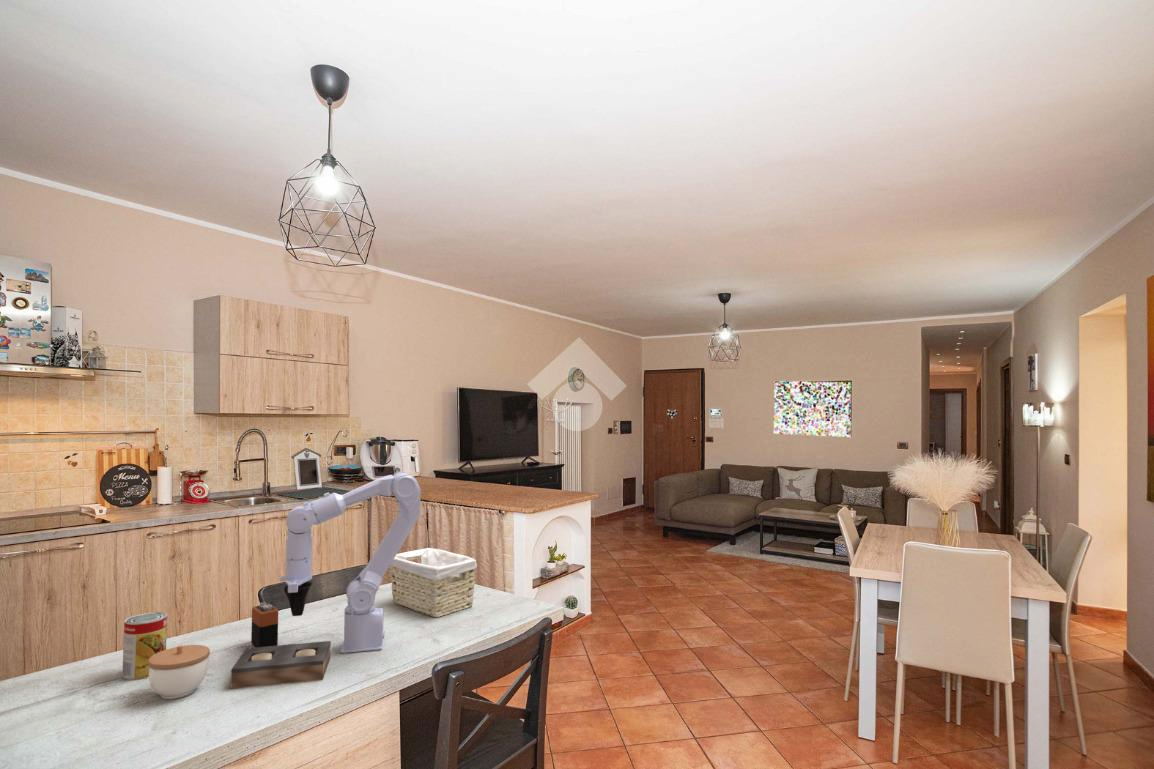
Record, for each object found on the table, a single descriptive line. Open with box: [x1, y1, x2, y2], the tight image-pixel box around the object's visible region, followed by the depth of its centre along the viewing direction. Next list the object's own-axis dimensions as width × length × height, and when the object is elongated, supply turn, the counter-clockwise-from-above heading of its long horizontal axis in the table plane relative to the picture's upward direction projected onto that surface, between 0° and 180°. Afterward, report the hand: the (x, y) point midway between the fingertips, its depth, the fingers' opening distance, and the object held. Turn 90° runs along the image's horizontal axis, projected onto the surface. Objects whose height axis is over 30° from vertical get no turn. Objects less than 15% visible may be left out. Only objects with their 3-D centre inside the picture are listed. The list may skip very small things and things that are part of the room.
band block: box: [230, 640, 332, 690], centre depth 137 cm, size 18×12×4 cm, turn 105°
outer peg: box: [251, 653, 272, 661], centre depth 135 cm, size 4×4×4 cm
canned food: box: [121, 611, 168, 681], centre depth 137 cm, size 8×8×12 cm
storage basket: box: [389, 547, 478, 618], centre depth 185 cm, size 24×16×15 cm
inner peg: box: [296, 649, 315, 657], centre depth 138 cm, size 4×4×4 cm
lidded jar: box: [148, 644, 211, 700], centre depth 127 cm, size 11×11×9 cm
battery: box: [250, 602, 279, 648], centre depth 153 cm, size 4×7×10 cm, turn 44°
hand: (297, 615), depth 147 cm, fingers closed
